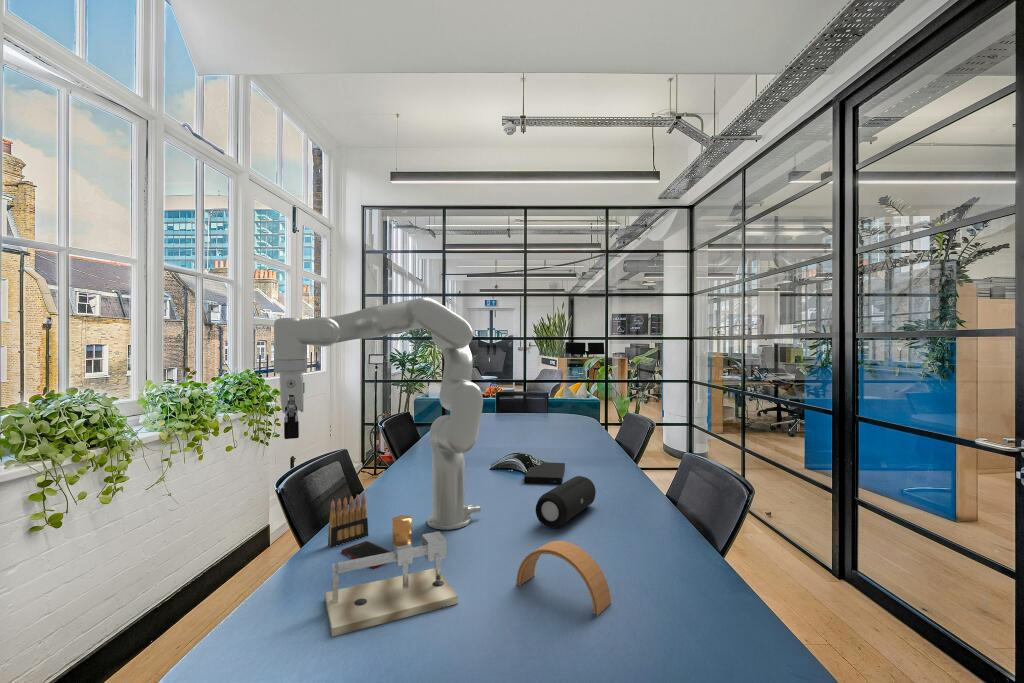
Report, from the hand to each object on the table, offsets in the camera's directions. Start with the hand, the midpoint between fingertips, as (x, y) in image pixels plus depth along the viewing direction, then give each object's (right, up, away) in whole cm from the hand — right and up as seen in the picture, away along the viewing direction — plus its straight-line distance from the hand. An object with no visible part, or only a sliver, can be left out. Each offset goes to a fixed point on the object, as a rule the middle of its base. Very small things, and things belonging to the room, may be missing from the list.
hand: (291, 435), depth 119 cm
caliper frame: (+30, -28, -20) cm, 46 cm away
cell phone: (+20, -31, 0) cm, 37 cm away
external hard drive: (+69, -31, +72) cm, 104 cm away
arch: (+66, -30, -19) cm, 75 cm away
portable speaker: (+72, -30, +26) cm, 83 cm away
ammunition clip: (+11, -31, +9) cm, 34 cm away
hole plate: (+31, -30, -22) cm, 48 cm away
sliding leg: (+32, -28, -19) cm, 47 cm away
